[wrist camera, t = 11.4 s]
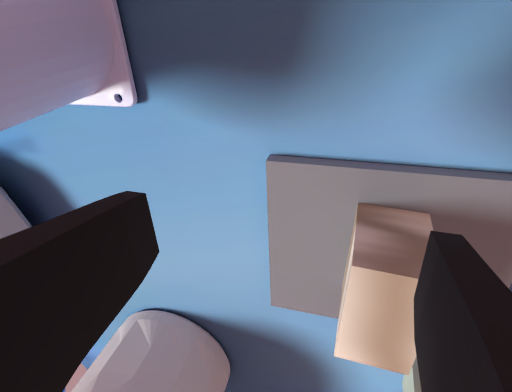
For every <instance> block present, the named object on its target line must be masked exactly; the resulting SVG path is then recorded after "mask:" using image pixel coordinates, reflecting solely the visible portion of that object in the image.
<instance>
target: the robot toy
mask: <svg viewBox="0 0 512 392" xmlns="http://www.w3.org/2000/svg"><path fill="white" fill-rule="evenodd" d="M30 227H32V226H31V224H30V223H29V222H28V220H27V219H26V218H25V216H24V215H23V214H22V213H21V211H20V210H19V209H18V207H17V206H16V205H15V203H14V202H13V201H12V200H11V199H10V198H9V197H8V195H7V193H6V192H5V191H4V190H3V188H2V187H1V186H0V239H1V238H4V237H6V236H9V235H12V234H14V233H17V232H19V231H22V230H25V229H27V228H30Z"/></svg>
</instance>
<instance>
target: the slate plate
mask: <svg viewBox="0 0 512 392" xmlns="http://www.w3.org/2000/svg"><path fill="white" fill-rule="evenodd" d="M266 175H267V203H268V231H269V260H270V288H271V306H276V307H281V308H286V309H291V310H297V311H302V312H307V313H312V314H317V315H322V316H327V317H332V318H337V319H338V318H339V310H340V301H341V293H342V285H343V280H344V274H345V269H346V264H347V258H348V253H349V248H350V242H351V237H352V232H353V226H354V221H355V216H356V210H357V205H358V203H364V204H370V205H376V206H383V207H389V208H396V209H402V210H409V211H415V212H422V213H428V214H430V217H431V222H432V226H433V231H437V232H445V233H453V234H460V235H463V237H464V238H465V239H466V240H467V241H468V242H469V243H470V245H471V246H472V247H473V248H474V249H475V250H476V252H477V253H478V254H479V255H480V256H481V257H482V259H483V260H484V261H485V262H486V263H487V265H488V266H489V267H490V268H491V269H492V270H493V271H494V273H495V274H496V275H497V276H498V277H499V278H500V279H501V281H502V282H503V283H504V284H505V285H506V286H507V287H508V288H510V286H511V284H512V174H510V173H497V172H485V171H472V170H459V169H446V168H434V167H421V166H408V165H395V164H383V163H370V162H357V161H344V160H332V159H319V158H306V157H293V156H281V155H269V157H268V158H267V160H266Z"/></svg>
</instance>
